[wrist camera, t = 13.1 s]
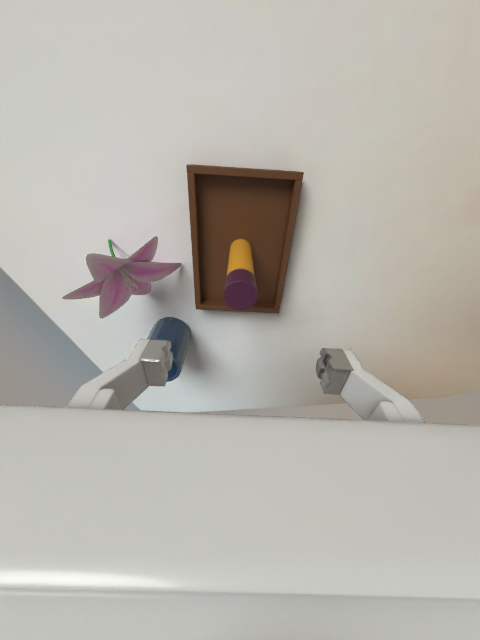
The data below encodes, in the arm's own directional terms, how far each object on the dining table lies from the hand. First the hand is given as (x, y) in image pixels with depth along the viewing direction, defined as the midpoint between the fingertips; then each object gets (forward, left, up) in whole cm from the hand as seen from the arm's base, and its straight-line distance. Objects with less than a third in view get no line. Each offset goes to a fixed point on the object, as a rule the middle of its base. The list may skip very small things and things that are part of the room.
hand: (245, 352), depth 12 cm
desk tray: (0, 0, -19) cm, 19 cm away
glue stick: (0, 0, -19) cm, 19 cm away
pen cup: (+14, -10, -19) cm, 26 cm away
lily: (+3, -13, -20) cm, 24 cm away
